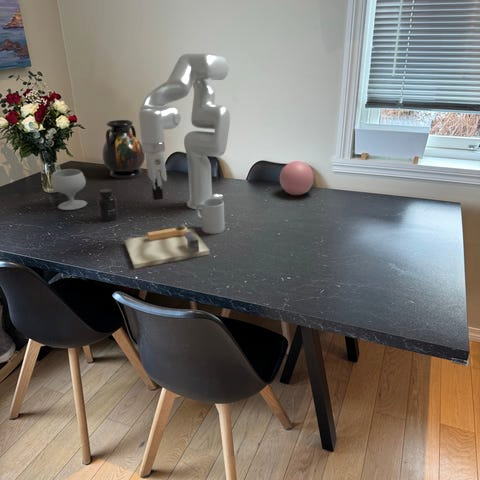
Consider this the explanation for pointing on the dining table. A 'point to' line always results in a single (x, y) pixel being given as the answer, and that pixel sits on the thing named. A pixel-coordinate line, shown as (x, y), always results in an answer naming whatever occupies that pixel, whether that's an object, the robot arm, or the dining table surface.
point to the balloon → (296, 178)
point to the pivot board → (165, 248)
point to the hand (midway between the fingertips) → (158, 198)
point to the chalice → (69, 187)
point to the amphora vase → (122, 150)
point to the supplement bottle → (107, 205)
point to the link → (166, 233)
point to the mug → (211, 215)
